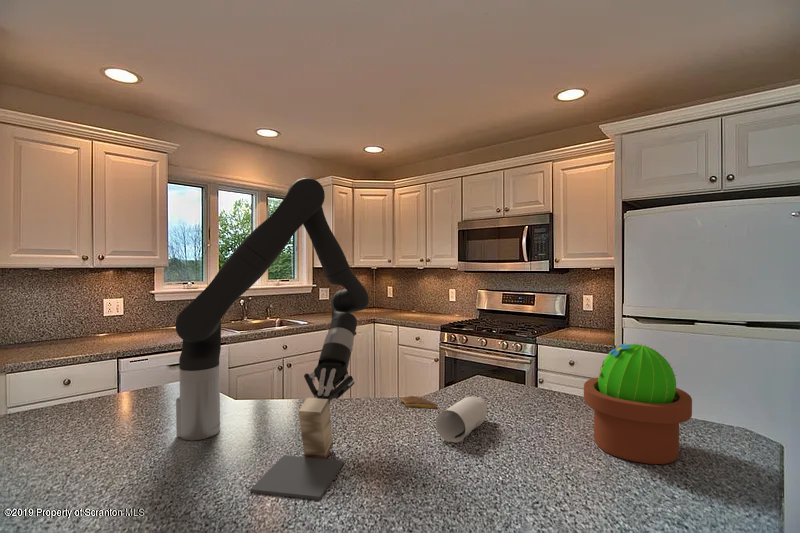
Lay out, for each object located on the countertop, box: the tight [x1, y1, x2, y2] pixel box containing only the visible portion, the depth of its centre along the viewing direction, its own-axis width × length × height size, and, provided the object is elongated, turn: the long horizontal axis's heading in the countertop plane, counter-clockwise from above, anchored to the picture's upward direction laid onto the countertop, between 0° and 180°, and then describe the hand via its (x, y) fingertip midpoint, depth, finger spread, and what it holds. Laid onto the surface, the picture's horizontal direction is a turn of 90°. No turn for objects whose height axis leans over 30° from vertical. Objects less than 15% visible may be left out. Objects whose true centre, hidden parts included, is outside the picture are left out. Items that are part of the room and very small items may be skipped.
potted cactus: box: [583, 342, 693, 465], centre depth 98 cm, size 22×22×25 cm
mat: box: [249, 454, 345, 501], centre depth 85 cm, size 14×14×1 cm
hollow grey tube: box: [434, 396, 488, 444], centre depth 108 cm, size 8×19×8 cm, turn 145°
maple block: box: [298, 397, 334, 459], centre depth 94 cm, size 5×5×12 cm
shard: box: [399, 395, 439, 409], centre depth 126 cm, size 11×8×2 cm
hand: (320, 413), depth 96 cm, fingers closed
